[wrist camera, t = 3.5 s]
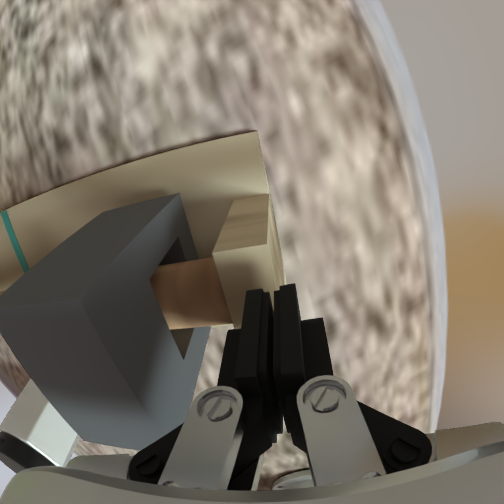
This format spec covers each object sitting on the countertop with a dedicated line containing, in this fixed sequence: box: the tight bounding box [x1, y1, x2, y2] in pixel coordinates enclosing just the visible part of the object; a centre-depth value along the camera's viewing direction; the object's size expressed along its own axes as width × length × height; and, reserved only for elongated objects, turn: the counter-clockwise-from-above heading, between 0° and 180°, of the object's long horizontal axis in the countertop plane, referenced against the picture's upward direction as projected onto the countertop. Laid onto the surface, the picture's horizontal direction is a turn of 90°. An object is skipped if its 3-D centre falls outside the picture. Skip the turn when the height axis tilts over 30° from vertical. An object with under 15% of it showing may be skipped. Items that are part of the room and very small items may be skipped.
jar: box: [0, 378, 80, 473], centre depth 24 cm, size 9×8×12 cm
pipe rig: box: [0, 131, 287, 335], centre depth 18 cm, size 12×30×8 cm, turn 102°
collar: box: [0, 193, 211, 450], centre depth 14 cm, size 8×5×10 cm, turn 12°
